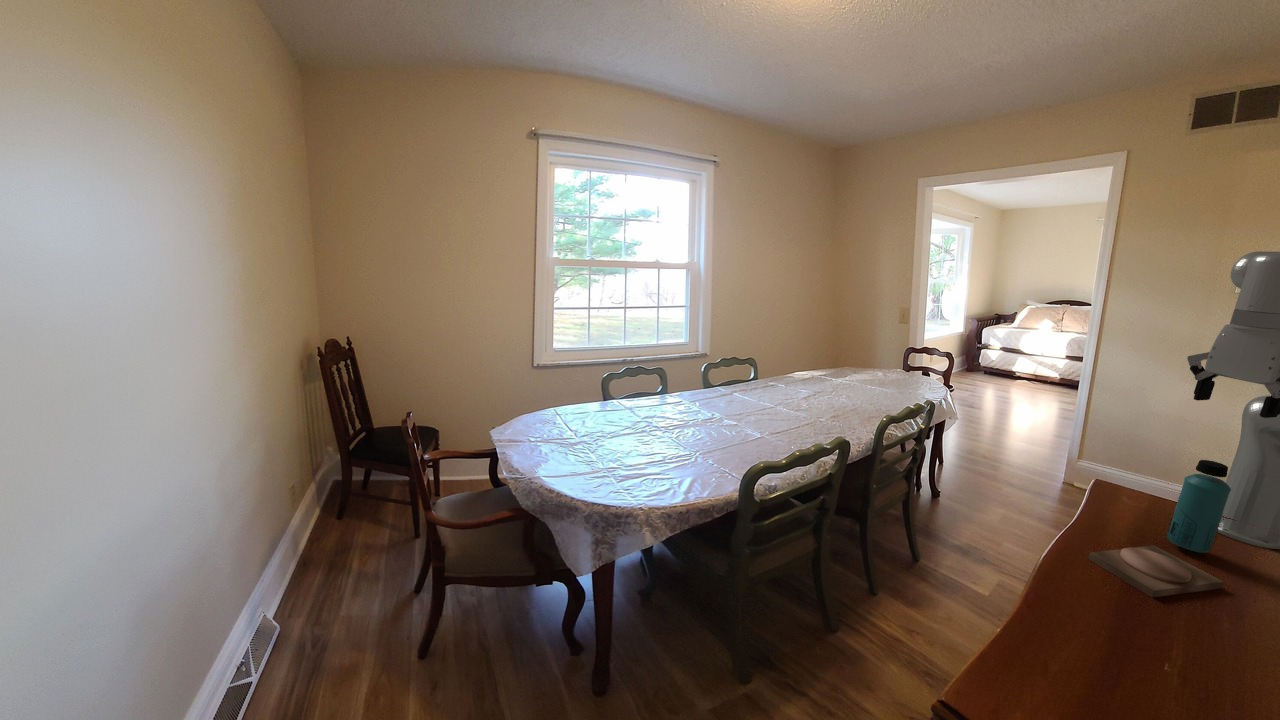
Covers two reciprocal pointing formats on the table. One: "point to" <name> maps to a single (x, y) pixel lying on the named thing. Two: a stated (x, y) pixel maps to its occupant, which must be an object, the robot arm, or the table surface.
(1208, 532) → the beverage bottle
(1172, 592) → the rectangular slab with oval
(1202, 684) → the table surface
